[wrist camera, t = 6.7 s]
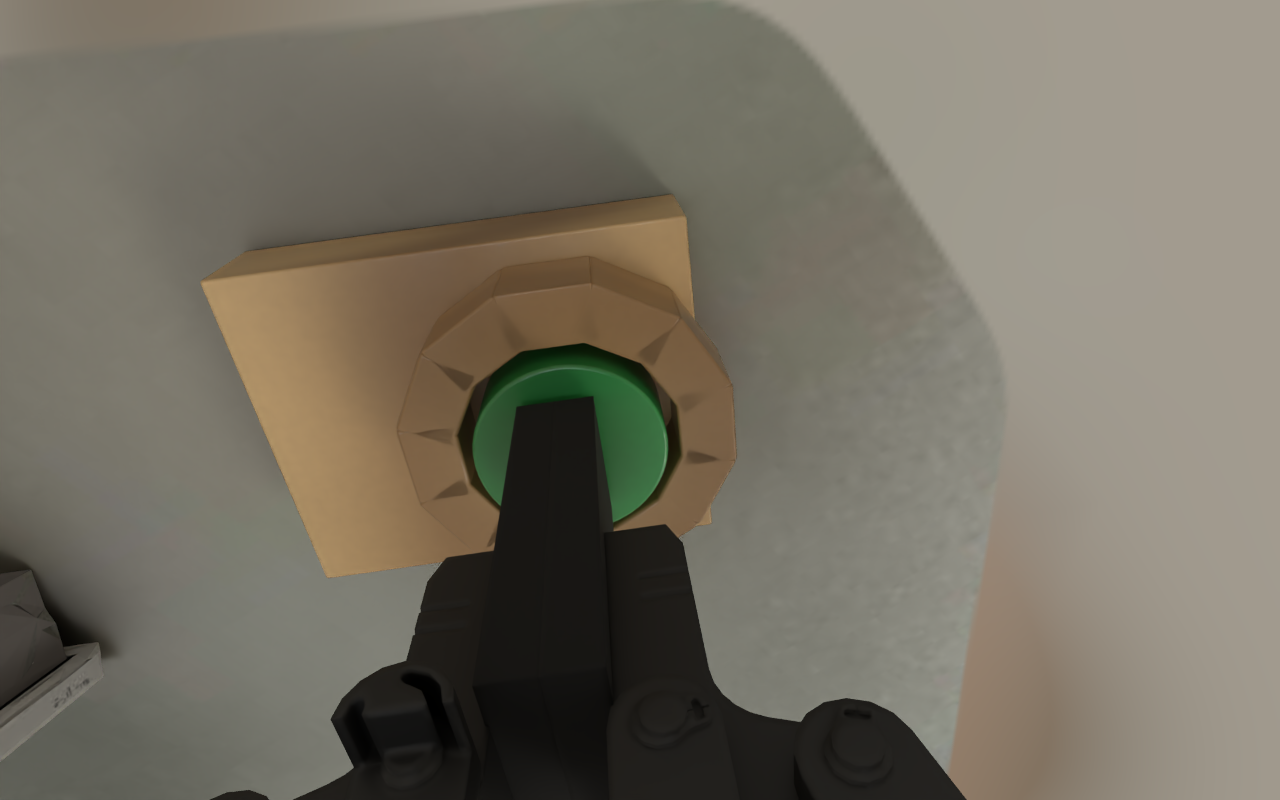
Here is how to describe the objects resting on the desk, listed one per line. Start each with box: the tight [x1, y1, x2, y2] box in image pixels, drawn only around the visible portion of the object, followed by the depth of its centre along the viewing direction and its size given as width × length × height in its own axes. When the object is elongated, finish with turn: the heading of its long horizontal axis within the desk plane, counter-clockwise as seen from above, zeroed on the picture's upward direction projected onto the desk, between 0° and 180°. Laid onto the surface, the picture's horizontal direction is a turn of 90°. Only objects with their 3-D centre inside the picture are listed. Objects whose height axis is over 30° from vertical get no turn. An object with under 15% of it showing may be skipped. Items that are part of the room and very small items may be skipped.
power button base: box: [201, 194, 737, 578], centre depth 16 cm, size 10×8×4 cm
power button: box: [472, 343, 668, 522], centre depth 15 cm, size 4×4×2 cm
